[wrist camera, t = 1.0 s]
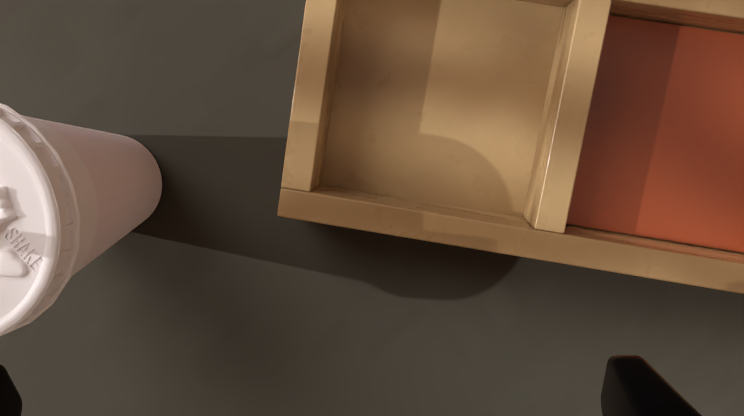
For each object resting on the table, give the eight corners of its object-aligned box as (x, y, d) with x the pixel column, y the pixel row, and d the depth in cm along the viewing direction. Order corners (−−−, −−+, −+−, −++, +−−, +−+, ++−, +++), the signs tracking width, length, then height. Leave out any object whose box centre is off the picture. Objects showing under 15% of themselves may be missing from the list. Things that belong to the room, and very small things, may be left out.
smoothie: (12, 125, 25) (-475, 141, 12) (165, 76, 25) (-158, 31, 11) (68, 281, 26) (-325, 471, 12) (218, 238, 25) (-20, 387, 12)
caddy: (771, 283, 24) (820, 307, 21) (293, 204, 25) (276, 216, 22) (839, 21, 23) (902, 7, 20) (329, -54, 24) (316, -78, 21)
